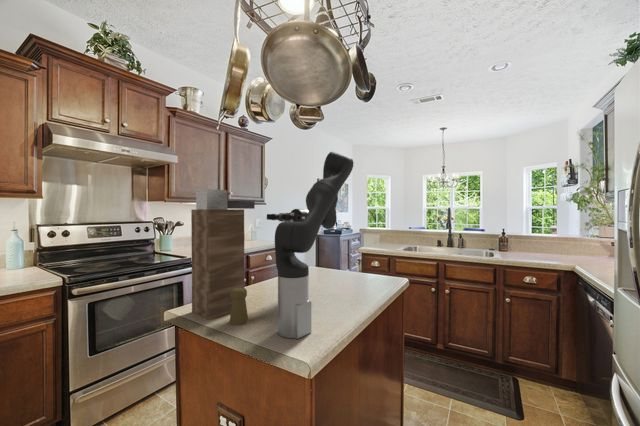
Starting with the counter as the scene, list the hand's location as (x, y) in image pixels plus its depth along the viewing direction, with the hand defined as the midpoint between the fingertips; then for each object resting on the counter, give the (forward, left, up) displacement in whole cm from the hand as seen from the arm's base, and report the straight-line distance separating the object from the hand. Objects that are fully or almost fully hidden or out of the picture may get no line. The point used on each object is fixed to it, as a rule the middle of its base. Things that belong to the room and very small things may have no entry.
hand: (274, 217), depth 114 cm
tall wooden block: (+11, +17, -34) cm, 40 cm away
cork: (-4, +19, -34) cm, 40 cm away
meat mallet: (+11, +13, +3) cm, 17 cm away
